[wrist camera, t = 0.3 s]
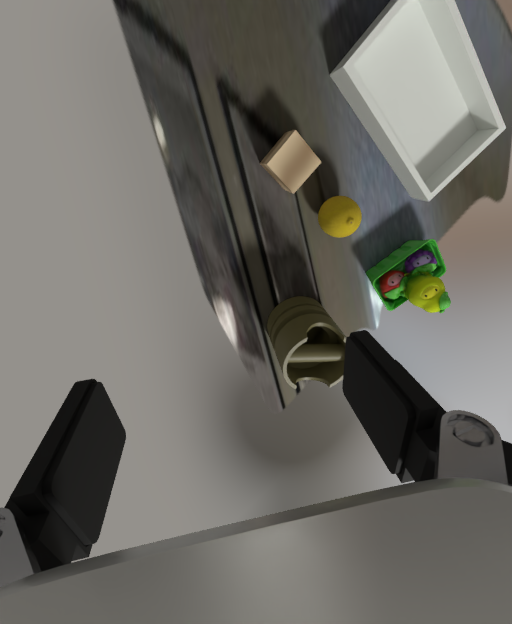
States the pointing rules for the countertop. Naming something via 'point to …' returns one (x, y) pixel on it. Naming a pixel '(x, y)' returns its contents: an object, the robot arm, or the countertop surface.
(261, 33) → the countertop surface
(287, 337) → the piston
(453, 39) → the tray
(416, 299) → the fruit basket
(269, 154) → the cube
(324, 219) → the lemon
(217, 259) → the countertop surface
